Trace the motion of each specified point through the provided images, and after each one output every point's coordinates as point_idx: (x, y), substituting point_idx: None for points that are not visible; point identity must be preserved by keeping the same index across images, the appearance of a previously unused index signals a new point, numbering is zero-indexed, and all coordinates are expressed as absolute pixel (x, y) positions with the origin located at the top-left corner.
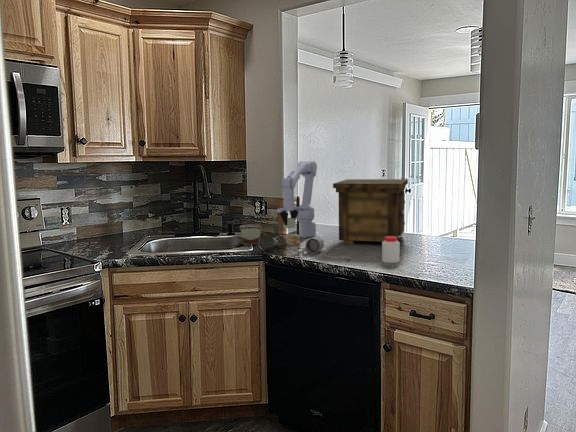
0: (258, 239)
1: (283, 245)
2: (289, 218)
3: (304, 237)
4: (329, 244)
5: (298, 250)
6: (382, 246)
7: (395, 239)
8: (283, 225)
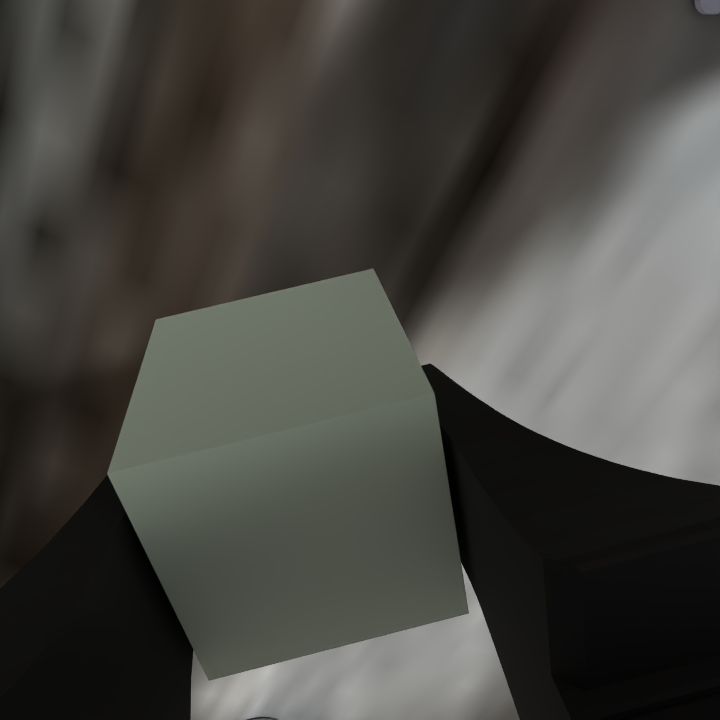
0: None
1: (113, 425)
2: (335, 543)
3: (701, 10)
4: None
5: (198, 695)
6: None
7: None
8: (150, 348)
